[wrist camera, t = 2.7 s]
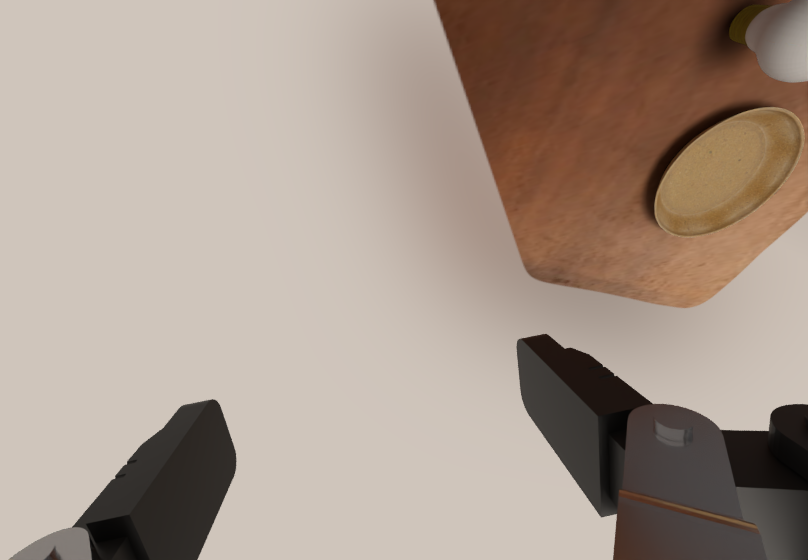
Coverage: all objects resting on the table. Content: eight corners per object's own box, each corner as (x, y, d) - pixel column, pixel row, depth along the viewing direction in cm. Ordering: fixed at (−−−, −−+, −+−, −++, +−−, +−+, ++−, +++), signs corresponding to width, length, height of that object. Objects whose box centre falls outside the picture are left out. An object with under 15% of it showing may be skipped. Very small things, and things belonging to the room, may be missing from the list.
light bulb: (754, 56, 35) (864, 86, 28) (691, 64, 35) (784, 97, 27) (791, -26, 31) (931, -17, 24) (720, -17, 31) (839, -5, 23)
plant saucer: (617, 181, 42) (631, 193, 40) (758, 65, 36) (782, 72, 34) (673, 244, 50) (686, 257, 48) (799, 157, 43) (820, 167, 41)
